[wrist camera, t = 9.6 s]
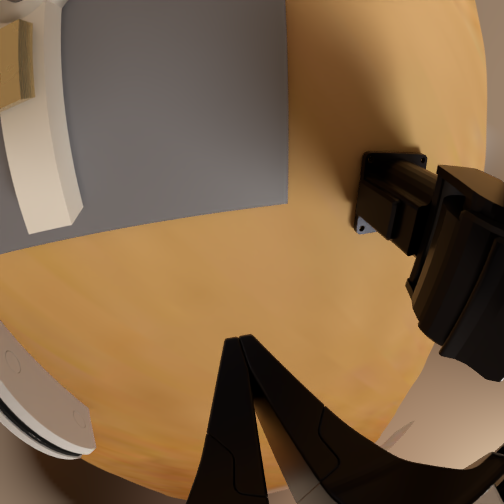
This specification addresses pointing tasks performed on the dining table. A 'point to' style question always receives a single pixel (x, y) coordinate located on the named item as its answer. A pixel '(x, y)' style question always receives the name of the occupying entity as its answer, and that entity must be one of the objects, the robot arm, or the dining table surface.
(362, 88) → the dining table surface
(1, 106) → the block
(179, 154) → the board
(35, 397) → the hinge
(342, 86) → the dining table surface
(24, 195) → the link
